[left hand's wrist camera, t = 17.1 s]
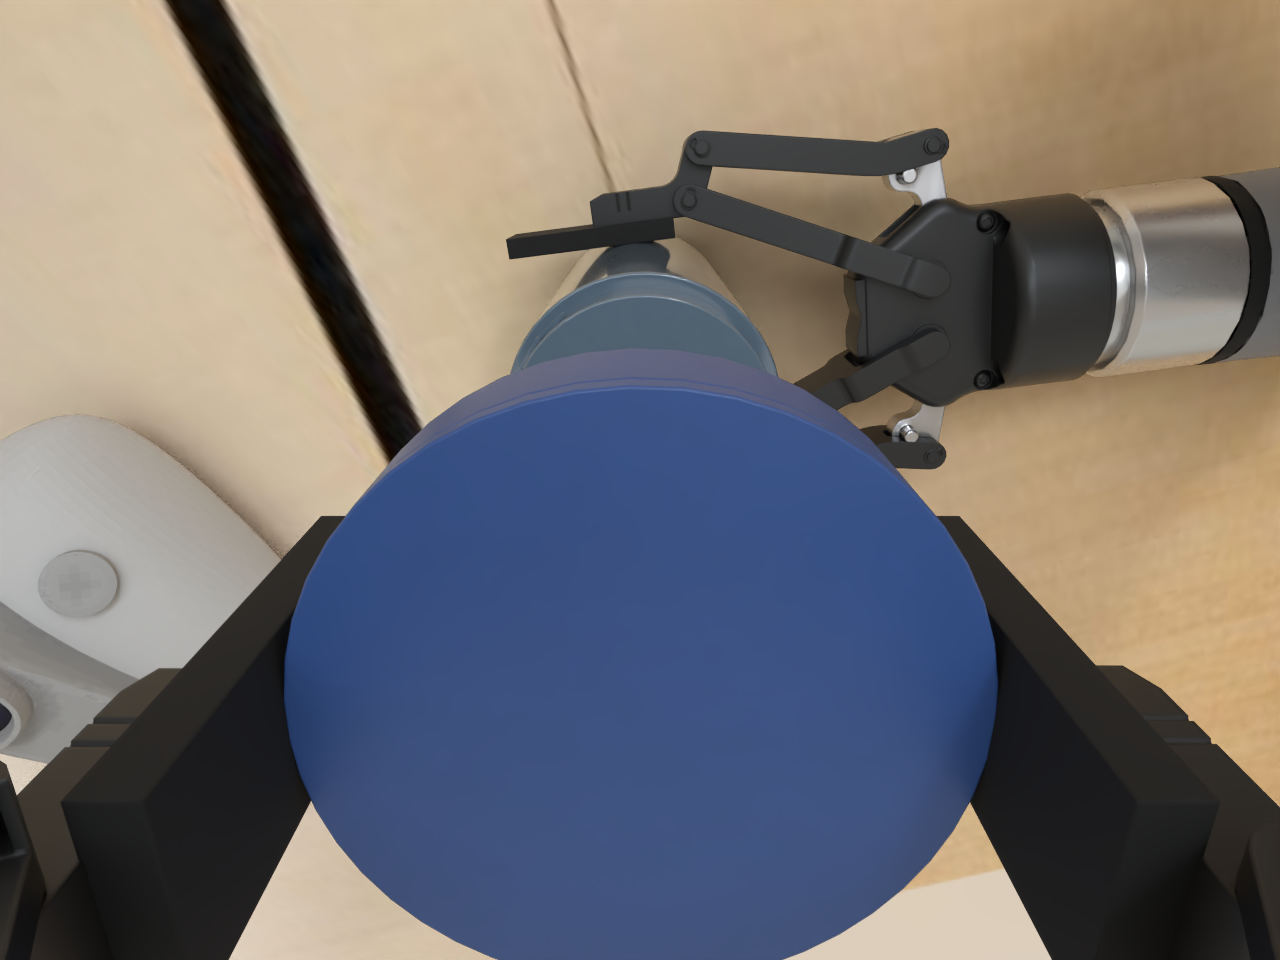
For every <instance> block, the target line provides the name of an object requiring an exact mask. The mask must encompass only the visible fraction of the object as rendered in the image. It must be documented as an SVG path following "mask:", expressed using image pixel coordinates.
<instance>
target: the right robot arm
mask: <svg viewBox="0 0 1280 960" xmlns="http://www.w3.org/2000/svg"><path fill="white" fill-rule="evenodd" d="M948 148H949V139H948V137H947V134H946V133H945V132H944V131H943V130H940V129H938V128H933V129H925V130H918V131H911V132H907V133H904V134H901V135H898V136H894V137H891V138H888V139H885V140H882V141H878V142H868V141H853V140H838V139H823V138H807V137H792V136H777V135H761V134H746V133H731V132H716V131H697V132H695V133H693V134H692V135H690V136H689V137H688V138H687V139H686V140H685V142H684V144H683V148H682V149H683V150H682V154H681V158H680V163H679V167H678V171H677V174H676V176H675V177H674V179H673V180H672V181H671V182H670V183H668V184H666V185H663V186H658V187H650V188H643V189H635V190H628V191H620V192H612V193H605V194H602V195H600V196H599V197H597V198H595V199H593V200H592V201H590V207H591V214H592V221H593V224H592V225H584V226H576V227H569V228H561V229H553V230H545V231H538V232H530V233H522V234H516V235H514V236H512V237H510V238H508V239H506V242H507V248H508V253H509V259H516V258H524V257H532V256H540V255H548V254H555V253H563V252H571V251H579V250H587V249H595V248H602V247H610V246H618V245H626V244H632V243H642V242H649V241H657V240H665V239H673V238H675V231H674V221H673V218H678V217H688V218H691V219H694V220H697V221H700V222H703V223H706V224H709V225H712V226H716V227H719V228H722V229H725V230H728V231H731V232H734V233H737V234H740V235H743V236H746V237H749V238H752V239H755V240H758V241H762V242H765V243H768V244H771V245H774V246H777V247H780V248H783V249H786V250H789V251H792V252H795V253H798V254H801V255H805V256H808V257H811V258H814V259H817V260H820V261H823V262H826V263H829V264H832V265H835V266H838V267H840V268H843V269H846V270H848V274H845V275H844V293H845V297H846V300H847V303H848V306H849V310H850V313H849V317H848V322H847V326H846V347H847V348H848V349H847V350H845V351H843V352H842V353H840V354H838V355H836V356H835V357H833V358H831V359H830V360H829V361H828V362H827V364H826V365H825V366H824V367H822V368H820V369H819V370H817V371H815V372H813V373H812V374H810V375H808V376H806V377H805V378H803V379H801V380H799V381H798V382H796V383H794V384H793V385H795V386H798V387H800V388H802V389H804V390H805V391H807V392H808V393H810V394H812V395H813V396H815V397H816V398H818V399H819V400H821V401H822V402H824V403H826V404H827V405H829V406H830V407H832V408H833V409H835V410H836V411H837V410H838V409H840V408H842V407H844V406H845V405H847V404H850V403H855V402H860V401H863V400H865V399H867V398H869V397H870V396H872V395H874V394H876V393H878V392H879V391H881V390H883V389H885V388H887V387H888V386H890V385H891V386H893V387H894V388H896V389H898V390H900V391H901V392H903V393H905V394H907V395H908V396H910V397H912V398H914V399H915V403H914V405H913V406H912V407H911V408H910V409H909V410H908V411H906V412H903V413H898V414H895V415H893V416H892V417H891V418H890V419H889V421H888V423H887V425H879V426H871V427H867V428H862V429H859V430H860V431H861V432H863V433H864V434H865V435H866V436H867V437H868V438H870V439H871V441H872V442H873V443H874V444H875V445H876V446H877V447H878V449H879V450H880V451H881V452H882V453H883V454H884V456H885V457H886V458H887V459H888V460H889V461H890V462H891V464H892V465H893V466H894V467H895V468H909V469H936V468H937V467H939V466H941V465H942V464H943V463H944V461H945V458H946V451H945V449H944V447H943V446H942V445H941V444H940V443H939V436H940V430H941V425H942V419H943V413H944V408H945V406H947V405H949V404H951V403H953V402H955V401H956V400H958V399H959V398H961V397H962V396H964V395H966V394H969V393H971V392H975V391H980V390H992V389H1002V388H1010V387H1018V386H1027V385H1035V384H1043V383H1052V382H1060V381H1068V380H1074V379H1077V378H1079V377H1081V376H1082V375H1084V374H1085V373H1086V374H1088V375H1090V376H1092V377H1107V376H1114V375H1122V374H1129V373H1136V372H1144V371H1151V370H1159V369H1166V368H1173V367H1181V366H1188V365H1201V364H1210V363H1215V362H1224V361H1234V360H1243V359H1253V358H1263V357H1273V356H1280V167H1278V168H1272V169H1265V170H1258V171H1251V172H1244V173H1237V174H1230V175H1223V176H1206V177H1196V178H1188V179H1180V180H1171V181H1163V182H1155V183H1147V184H1139V185H1131V186H1122V187H1114V188H1106V189H1098V190H1093V191H1089V192H1087V193H1086V194H1084V195H1082V196H1081V197H1078V196H1076V195H1074V194H1069V193H1066V194H1057V195H1049V196H1041V197H1033V198H1025V199H1018V200H1010V201H1002V202H994V203H986V204H979V205H965V204H963V203H960V202H958V201H956V200H954V199H951V198H947V195H946V189H945V183H944V176H943V170H942V163H941V159H942V158H943V157H944V156H945V154H946V153H947V150H948ZM712 166H714V167H729V168H745V169H760V170H776V171H791V172H807V173H822V174H837V175H853V176H882V180H883V183H884V185H885V186H886V187H887V188H888V189H889V190H892V191H899V192H907V193H909V194H910V195H911V196H912V197H913V199H914V202H915V204H914V205H913V206H912V207H911V208H910V209H908V210H907V211H906V212H905V213H904V214H903V215H902V216H901V217H899V218H898V219H897V220H896V221H895V222H894V223H893V224H891V225H890V226H889V227H888V228H887V229H886V230H885V231H884V232H882V233H881V234H880V235H879V236H878V237H877V238H876V239H874V240H873V241H872V242H871V243H869V242H866V241H863V240H860V239H857V238H854V237H851V236H848V235H845V234H842V233H839V232H836V231H833V230H830V229H827V228H824V227H821V226H818V225H815V224H812V223H809V222H806V221H803V220H800V219H797V218H794V217H790V216H787V215H784V214H781V213H778V212H775V211H772V210H769V209H766V208H763V207H760V206H757V205H754V204H751V203H748V202H745V201H742V200H739V199H736V198H733V197H730V196H727V195H724V194H721V193H718V192H715V191H712V190H709V189H707V186H708V182H709V178H710V174H711V170H712Z"/></svg>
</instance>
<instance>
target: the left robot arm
mask: <svg viewBox="0 0 1280 960" xmlns="http://www.w3.org/2000/svg"><path fill="white" fill-rule="evenodd" d="M936 517H937V518H938V519H939V520H940V521H941V522H942V524H943V525H944V526H945V528H946V529H947V531H948V532H949V534H950V536H951V537H952V539H953V540H954V542H955V544H956V545H957V547H958V548H959V550H960V551H961V553H962V555H963V556H964V558H965V559H966V561H967V563H968V565H969V567H970V569H971V572H972V574H973V576H974V579H975V581H976V583H977V586H978V588H979V590H980V593H981V595H982V597H983V600H984V602H985V605H986V609H987V613H988V617H989V621H990V625H991V629H992V633H993V637H994V641H995V650H996V662H997V673H998V694H997V708H996V715H995V721H994V727H993V732H992V737H991V742H990V748H989V753H988V758H987V762H986V764H985V767H984V769H983V772H982V774H981V777H980V779H979V782H978V784H977V787H976V790H975V792H974V795H973V797H972V799H971V801H970V803H971V805H972V807H973V809H974V810H975V812H976V814H977V816H978V818H979V820H980V822H981V824H982V826H983V828H984V830H985V832H986V834H987V836H988V837H989V839H990V841H991V843H992V845H993V847H994V849H995V851H996V853H997V855H998V857H999V859H1000V861H1001V863H1002V864H1003V866H1004V868H1005V870H1006V872H1007V874H1008V876H1009V878H1010V880H1011V882H1012V884H1013V886H1014V888H1015V889H1016V891H1017V893H1018V895H1019V897H1020V899H1021V901H1022V903H1023V905H1024V907H1025V909H1026V911H1027V913H1028V914H1029V916H1030V918H1031V920H1032V922H1033V924H1034V926H1035V928H1036V930H1037V932H1038V934H1039V936H1040V938H1041V939H1042V941H1043V943H1044V945H1045V947H1046V949H1047V951H1048V953H1049V955H1050V957H1051V959H1052V960H1280V807H1279V806H1278V805H1277V804H1276V803H1275V802H1274V801H1273V800H1272V799H1271V798H1270V797H1269V796H1268V795H1267V794H1266V793H1265V792H1264V791H1263V790H1262V789H1261V788H1260V787H1259V786H1258V785H1257V784H1256V783H1255V782H1254V781H1253V780H1252V779H1251V778H1250V777H1249V776H1248V775H1247V774H1246V773H1245V772H1244V771H1243V770H1242V769H1241V768H1240V767H1239V766H1238V765H1237V764H1236V763H1235V762H1234V761H1233V760H1232V759H1231V758H1230V757H1229V756H1228V755H1227V754H1226V753H1225V752H1224V751H1223V750H1222V749H1221V748H1220V747H1219V746H1218V745H1217V744H1212V743H1211V738H1210V737H1209V736H1208V735H1207V734H1206V733H1205V732H1204V731H1203V730H1202V729H1201V728H1200V727H1199V726H1198V725H1197V724H1196V723H1195V722H1194V721H1189V720H1188V715H1187V714H1186V713H1185V712H1184V711H1183V710H1182V709H1181V708H1180V707H1179V706H1178V705H1177V704H1176V703H1175V702H1174V701H1173V700H1172V699H1171V698H1170V697H1169V696H1168V695H1167V694H1166V693H1165V692H1164V691H1163V690H1162V689H1161V688H1159V687H1158V686H1156V685H1154V684H1153V683H1151V682H1149V681H1148V680H1146V679H1144V678H1142V677H1141V676H1139V675H1137V674H1136V673H1134V672H1132V671H1131V670H1129V669H1127V668H1126V667H1124V666H1096V665H1095V664H1094V663H1093V662H1092V661H1091V660H1090V659H1089V658H1088V656H1087V655H1086V654H1085V653H1084V652H1083V651H1082V650H1081V649H1080V648H1079V647H1078V646H1077V644H1076V643H1075V642H1074V641H1073V640H1072V639H1071V638H1070V637H1069V636H1068V635H1067V633H1066V632H1065V631H1064V630H1063V629H1062V628H1061V627H1060V626H1059V625H1058V624H1057V623H1056V621H1055V620H1054V619H1053V618H1052V617H1051V616H1050V615H1049V614H1048V613H1047V612H1046V610H1045V609H1044V608H1043V607H1042V606H1041V605H1040V604H1039V603H1038V602H1037V601H1036V600H1035V598H1034V597H1033V596H1032V595H1031V594H1030V593H1029V592H1028V591H1027V590H1026V589H1025V588H1024V586H1023V585H1022V584H1021V583H1020V582H1019V581H1018V580H1017V579H1016V578H1015V577H1014V575H1013V574H1012V573H1011V572H1010V571H1009V570H1008V569H1007V568H1006V567H1005V566H1004V565H1003V563H1002V562H1001V561H1000V560H999V559H998V558H997V557H996V556H995V555H994V554H993V552H992V551H991V550H990V549H989V548H988V547H987V546H986V545H985V544H984V543H983V542H982V540H981V539H980V538H979V537H978V536H977V535H976V534H975V533H974V532H973V531H972V530H971V528H970V527H969V526H968V525H967V524H966V523H965V522H964V521H963V520H962V519H961V517H960V516H936ZM344 518H345V516H321V517H320V518H319V519H318V520H317V521H316V522H315V524H314V525H313V526H312V527H311V528H310V529H309V530H308V531H307V532H306V533H305V534H304V536H303V537H302V538H301V539H300V540H299V541H298V542H297V543H296V544H295V545H294V547H293V548H292V549H291V550H290V551H289V552H288V553H287V554H286V555H285V556H284V557H283V559H282V560H281V561H280V562H279V563H278V564H277V565H276V566H275V567H274V568H273V570H272V571H271V572H270V573H269V574H268V575H267V576H266V577H265V578H264V579H263V580H262V582H261V583H260V584H259V585H258V586H257V587H256V588H255V589H254V590H253V591H252V592H251V594H250V595H249V596H248V597H247V598H246V599H245V600H244V601H243V602H242V603H241V605H240V606H239V607H238V608H237V609H236V610H235V611H234V612H233V613H232V614H231V615H230V617H229V618H228V619H227V620H226V621H225V622H224V623H223V624H222V625H221V626H220V628H219V629H218V630H217V631H216V632H215V633H214V634H213V635H212V636H211V637H210V638H209V640H208V641H207V642H206V643H205V644H204V645H203V646H202V647H201V648H200V649H199V651H198V652H197V653H196V654H195V655H194V656H193V657H192V658H191V659H190V660H189V661H188V663H187V664H186V665H185V666H184V667H183V668H158V669H157V670H155V671H153V672H152V673H150V674H148V675H147V676H145V677H143V678H142V679H140V680H138V681H137V682H135V683H133V684H132V685H130V686H128V687H127V688H125V689H123V690H122V691H120V692H119V693H118V694H117V695H116V696H115V697H114V698H113V699H112V700H111V701H110V702H109V703H108V704H107V705H106V706H105V707H104V708H103V709H102V710H101V711H100V712H99V713H98V714H97V715H96V716H95V717H94V718H93V723H92V724H87V725H86V726H85V727H84V728H83V729H82V730H81V731H80V732H79V733H78V734H77V735H76V736H75V737H74V738H73V739H72V740H71V745H70V747H64V748H63V749H62V750H61V752H60V753H59V754H58V755H57V756H56V757H55V758H54V759H53V760H52V761H51V762H50V763H49V764H48V765H47V766H46V767H45V768H44V769H43V770H42V771H41V772H40V773H39V774H38V775H37V776H36V777H35V778H34V779H33V780H32V781H31V782H30V783H29V784H28V785H27V786H26V787H25V788H24V789H23V790H22V791H21V792H20V793H19V794H18V795H16V792H15V789H14V786H13V783H12V780H11V777H10V774H9V771H8V768H7V765H6V764H5V763H3V762H1V761H0V960H229V958H230V956H231V954H232V952H233V950H234V948H235V946H236V944H237V942H238V941H239V939H240V937H241V935H242V933H243V931H244V929H245V927H246V925H247V923H248V921H249V919H250V917H251V916H252V914H253V912H254V910H255V908H256V906H257V904H258V902H259V900H260V898H261V896H262V894H263V892H264V890H265V889H266V887H267V885H268V883H269V881H270V879H271V877H272V875H273V873H274V871H275V869H276V867H277V865H278V864H279V862H280V860H281V858H282V856H283V854H284V852H285V850H286V848H287V846H288V844H289V842H290V840H291V838H292V837H293V835H294V833H295V831H296V829H297V827H298V825H299V823H300V821H301V819H302V817H303V815H304V813H305V811H306V810H307V808H308V806H309V804H310V802H311V798H310V796H309V794H308V792H307V790H306V788H305V785H304V783H303V781H302V779H301V777H300V774H299V771H298V767H297V764H296V760H295V757H294V754H293V750H292V747H291V743H290V738H289V732H288V727H287V720H286V712H285V705H284V665H285V654H286V648H287V643H288V638H289V632H290V627H291V621H292V617H293V614H294V611H295V609H296V606H297V603H298V600H299V597H300V595H301V592H302V589H303V586H304V583H305V581H306V578H307V576H308V574H309V573H310V571H311V569H312V567H313V565H314V563H315V562H316V560H317V558H318V556H319V554H320V552H321V551H322V549H323V547H324V545H325V543H326V541H327V540H328V539H329V537H330V536H331V535H332V533H333V532H334V531H335V529H336V528H337V527H338V526H339V524H340V523H341V522H342V520H343V519H344Z"/></svg>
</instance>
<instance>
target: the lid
mask: <svg viewBox="0 0 1280 960" xmlns="http://www.w3.org/2000/svg"><path fill="white" fill-rule="evenodd" d="M997 694H998V673H997V662H996V650H995V641H994V637H993V633H992V629H991V625H990V621H989V617H988V613H987V609H986V605H985V602H984V600H983V597H982V595H981V593H980V590H979V588H978V586H977V583H976V581H975V579H974V576H973V574H972V572H971V569H970V567H969V565H968V563H967V561H966V559H965V558H964V556H963V555H962V553H961V551H960V550H959V548H958V547H957V545H956V544H955V542H954V540H953V539H952V537H951V536H950V534H949V532H948V531H947V529H946V528H945V526H944V525H943V524H942V522H941V521H940V520H939V519H938V518H937V517H936V515H935V514H934V513H933V512H932V511H931V509H930V508H929V507H928V506H927V505H926V504H925V502H924V501H923V500H922V499H921V498H920V497H919V495H918V494H917V493H916V492H915V491H914V489H913V488H912V487H911V486H910V485H909V484H908V482H907V481H906V480H905V479H904V478H903V476H902V475H901V474H900V473H899V472H898V471H897V469H896V468H895V467H894V466H893V465H892V464H891V462H890V461H889V460H888V459H887V458H886V457H885V456H884V454H883V453H882V452H881V451H880V450H879V449H878V447H877V446H876V445H875V444H874V443H873V442H872V441H871V439H870V438H868V437H867V436H866V435H865V434H864V433H863V432H861V431H860V430H859V429H858V428H857V427H856V426H855V425H853V424H852V423H851V422H850V421H849V420H848V419H846V418H845V417H844V416H843V415H842V414H841V413H839V412H838V411H836V410H835V409H833V408H832V407H830V406H829V405H827V404H826V403H824V402H822V401H821V400H819V399H818V398H816V397H815V396H813V395H812V394H810V393H808V392H807V391H805V390H804V389H802V388H800V387H798V386H795V385H793V384H791V383H789V382H787V381H785V380H782V379H780V378H778V377H776V376H774V375H772V374H770V373H767V372H765V371H763V370H759V369H756V368H753V367H750V366H747V365H743V364H740V363H737V362H734V361H730V360H727V359H724V358H720V357H714V356H708V355H703V354H697V353H691V352H685V351H679V350H661V349H635V348H630V349H619V350H608V351H597V352H586V353H582V354H578V355H573V356H569V357H564V358H560V359H555V360H551V361H546V362H542V363H540V364H537V365H534V366H532V367H529V368H526V369H523V370H521V371H518V372H515V373H513V374H510V375H507V376H504V377H502V378H500V379H498V380H496V381H494V382H492V383H490V384H488V385H487V386H485V387H483V388H481V389H479V390H477V391H475V392H473V393H472V394H470V395H468V396H466V397H464V398H463V399H461V400H460V401H458V402H457V403H456V404H454V405H453V406H451V407H450V408H449V409H447V410H446V411H445V412H443V413H442V414H440V415H439V416H438V417H436V418H435V419H434V420H432V421H431V422H429V423H428V424H427V425H426V426H425V427H424V428H423V429H422V430H421V431H420V432H419V433H418V434H417V435H416V436H415V437H414V438H413V439H412V440H411V441H410V442H409V443H408V444H407V445H406V446H405V447H404V448H403V449H402V450H401V451H400V452H399V453H398V454H397V455H396V456H395V458H394V459H393V460H392V461H391V462H390V463H389V465H388V466H387V467H386V468H385V469H384V471H383V472H382V473H381V474H380V475H379V476H378V478H377V479H376V480H375V481H374V482H373V483H372V485H371V486H370V487H369V488H368V489H367V491H366V492H365V493H364V494H363V495H362V496H361V498H360V499H359V500H358V501H357V502H356V503H355V505H354V506H353V507H352V509H351V510H350V511H349V513H348V514H347V515H346V516H345V518H344V519H343V520H342V522H341V523H340V524H339V526H338V527H337V528H336V529H335V531H334V532H333V533H332V535H331V536H330V537H329V539H328V540H327V541H326V543H325V545H324V547H323V549H322V551H321V552H320V554H319V556H318V558H317V560H316V562H315V563H314V565H313V567H312V569H311V571H310V573H309V574H308V576H307V578H306V581H305V583H304V586H303V589H302V592H301V595H300V597H299V600H298V603H297V606H296V609H295V611H294V614H293V617H292V621H291V627H290V632H289V638H288V643H287V648H286V654H285V665H284V705H285V712H286V720H287V727H288V732H289V738H290V743H291V747H292V750H293V754H294V757H295V760H296V764H297V767H298V771H299V774H300V777H301V779H302V781H303V783H304V785H305V788H306V790H307V792H308V794H309V796H310V798H311V801H312V803H313V805H314V807H315V809H316V811H317V813H318V814H319V816H320V817H321V819H322V821H323V822H324V824H325V825H326V827H327V828H328V830H329V832H330V833H331V835H332V836H333V838H334V839H335V841H336V842H337V844H338V845H339V846H340V847H341V848H342V850H343V851H344V852H345V853H346V854H347V856H348V857H349V858H350V859H351V860H352V862H353V863H354V864H355V865H356V866H357V867H358V869H359V870H360V871H361V872H362V873H363V874H364V875H365V876H366V877H367V878H368V879H369V880H370V881H371V882H373V883H374V884H375V885H376V886H377V887H378V888H379V889H380V890H381V891H382V892H383V893H384V894H385V895H387V896H388V897H389V898H390V899H391V900H392V901H394V902H395V903H396V904H398V905H399V906H401V907H402V908H403V909H405V910H406V911H407V912H409V913H410V914H411V915H413V916H414V917H416V918H417V919H418V920H420V921H421V922H423V923H424V924H426V925H428V926H430V927H431V928H433V929H435V930H437V931H438V932H440V933H442V934H443V935H445V936H447V937H449V938H450V939H452V940H454V941H456V942H458V943H460V944H462V945H465V946H467V947H469V948H471V949H474V950H476V951H478V952H480V953H483V954H485V955H487V956H489V957H492V958H495V959H498V960H783V959H786V958H789V957H791V956H794V955H797V954H800V953H802V952H805V951H807V950H809V949H811V948H813V947H815V946H817V945H819V944H821V943H823V942H825V941H827V940H829V939H831V938H833V937H835V936H837V935H839V934H841V933H842V932H844V931H846V930H847V929H849V928H850V927H852V926H853V925H855V924H857V923H858V922H860V921H861V920H863V919H864V918H866V917H868V916H869V915H871V914H872V913H874V912H875V911H876V910H877V909H879V908H880V907H881V906H882V905H884V904H885V903H886V902H887V901H889V900H890V899H891V898H892V897H894V896H895V895H896V894H897V893H899V892H900V891H901V890H902V889H904V888H905V886H906V885H907V884H908V883H909V882H910V881H911V880H912V879H913V878H914V877H915V876H916V875H917V874H918V873H919V872H920V871H921V870H922V869H923V868H924V867H925V866H926V865H927V864H928V863H929V862H930V861H931V860H932V858H933V857H934V856H935V854H936V853H937V852H938V850H939V849H940V848H941V846H942V845H943V844H944V842H945V841H946V840H947V839H948V837H949V836H950V835H951V833H952V832H953V831H954V829H955V827H956V825H957V824H958V822H959V820H960V818H961V817H962V815H963V813H964V811H965V809H966V808H967V806H968V804H969V802H970V801H971V799H972V797H973V795H974V792H975V790H976V787H977V784H978V782H979V779H980V777H981V774H982V772H983V769H984V767H985V764H986V762H987V758H988V753H989V748H990V742H991V737H992V732H993V727H994V721H995V715H996V708H997Z"/></svg>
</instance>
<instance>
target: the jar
mask: <svg viewBox="0 0 1280 960" xmlns="http://www.w3.org/2000/svg"><path fill="white" fill-rule="evenodd" d="M630 348H635V349H661V350H679V351H685V352H691V353H697V354H703V355H708V356H714V357H720V358H724V359H727V360H730V361H734V362H737V363H740V364H743V365H747V366H750V367H753V368H756V369H759V370H763V371H765V372H767V373H770V374H772V375H774V376H776V377H778V374H777V370H776V366H775V363H774V361H773V358H772V356H771V353H770V351H769V348H768V346H767V345H766V343H765V341H764V339H763V338H762V336H761V334H760V332H759V331H758V330H757V328H756V327H755V325H754V324H753V323H752V321H751V320H750V318H749V317H748V316H747V314H746V313H745V312H744V310H743V309H742V307H741V306H740V305H739V303H738V302H737V301H736V299H735V298H734V296H733V295H732V294H731V292H730V291H729V289H728V288H727V287H726V285H725V284H724V283H723V281H722V280H721V278H720V277H719V276H718V274H717V273H716V272H715V270H714V269H713V267H712V266H711V265H710V263H709V262H708V261H707V260H706V258H705V257H704V256H703V255H702V254H701V253H700V252H699V251H698V250H697V249H695V248H694V247H693V246H691V245H690V244H689V243H687V242H685V241H683V240H682V239H680V238H678V237H675V238H673V239H665V240H657V241H649V242H642V243H632V244H626V245H618V246H610V247H602V248H595V249H589V250H588V251H587V252H586V253H584V254H583V256H582V257H581V258H580V259H579V260H578V261H577V262H576V264H575V265H574V267H573V268H572V270H571V271H570V273H569V274H568V276H567V277H566V279H565V280H564V281H563V283H562V284H561V286H560V287H559V289H558V290H557V292H556V293H555V295H554V296H553V298H552V299H551V301H550V302H549V304H548V305H547V306H546V308H545V309H544V311H543V312H542V314H541V315H540V317H539V318H538V320H537V321H536V323H535V324H534V326H533V327H532V329H531V330H530V332H529V333H528V335H527V336H526V338H525V339H524V341H523V343H522V345H521V347H520V349H519V351H518V353H517V355H516V358H515V361H514V364H513V367H512V370H511V373H510V374H513V373H515V372H518V371H521V370H523V369H526V368H529V367H532V366H534V365H537V364H540V363H542V362H546V361H551V360H555V359H560V358H564V357H569V356H573V355H578V354H582V353H586V352H597V351H608V350H619V349H630Z"/></svg>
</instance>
